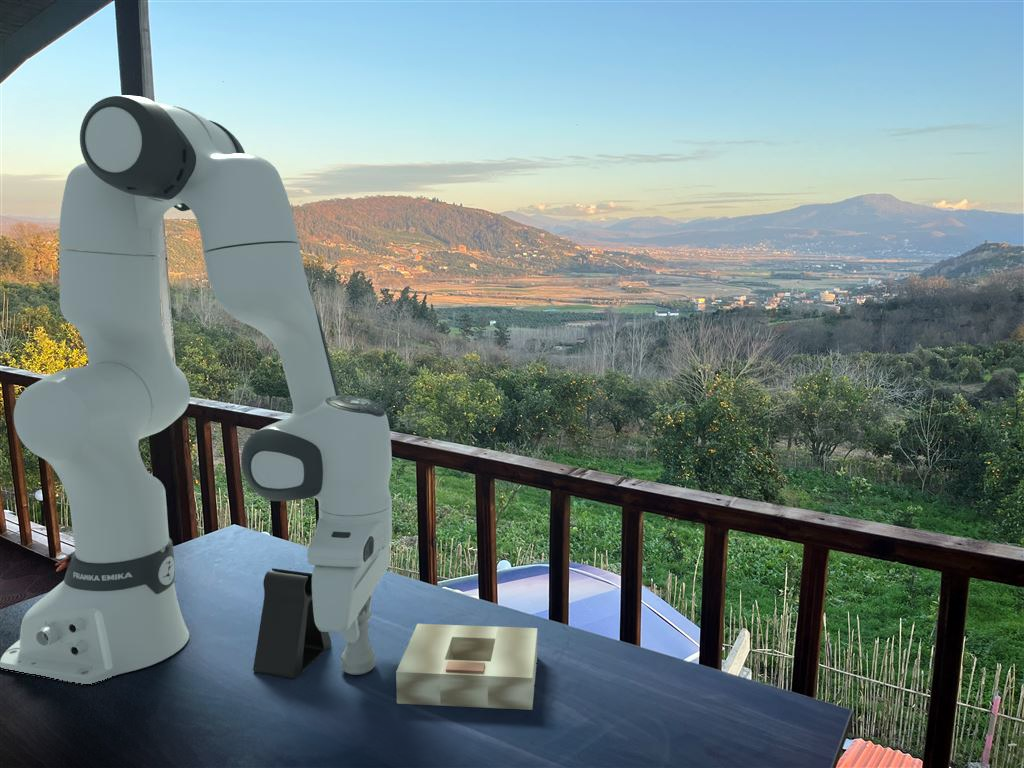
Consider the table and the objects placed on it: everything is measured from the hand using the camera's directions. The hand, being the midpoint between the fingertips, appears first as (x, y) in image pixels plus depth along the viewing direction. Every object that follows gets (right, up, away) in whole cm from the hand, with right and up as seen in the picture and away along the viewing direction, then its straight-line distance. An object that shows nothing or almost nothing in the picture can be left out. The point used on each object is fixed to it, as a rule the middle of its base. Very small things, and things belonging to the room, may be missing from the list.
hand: (356, 631), depth 93 cm
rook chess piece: (0, -5, +1) cm, 5 cm away
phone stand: (-9, -5, +4) cm, 11 cm away
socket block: (+15, -6, -1) cm, 16 cm away
